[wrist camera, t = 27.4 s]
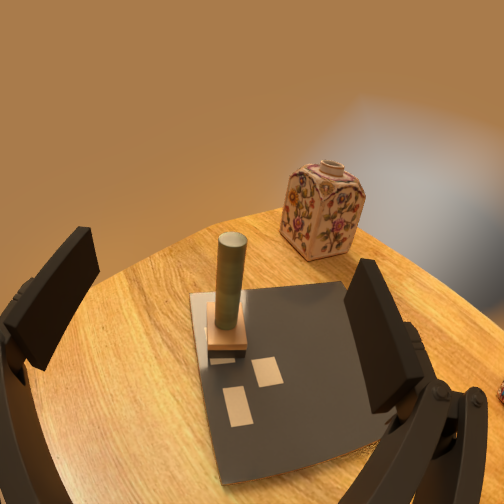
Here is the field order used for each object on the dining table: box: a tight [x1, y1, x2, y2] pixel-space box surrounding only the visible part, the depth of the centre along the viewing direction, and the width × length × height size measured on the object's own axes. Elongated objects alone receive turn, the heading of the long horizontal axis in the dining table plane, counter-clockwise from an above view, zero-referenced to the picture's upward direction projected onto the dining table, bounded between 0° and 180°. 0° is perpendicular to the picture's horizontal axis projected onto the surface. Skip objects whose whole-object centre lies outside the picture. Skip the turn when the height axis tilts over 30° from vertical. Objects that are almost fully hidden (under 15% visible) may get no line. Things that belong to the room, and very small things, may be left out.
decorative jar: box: [279, 160, 366, 261], centre depth 56 cm, size 12×12×18 cm
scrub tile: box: [189, 281, 397, 486], centre depth 35 cm, size 28×26×1 cm
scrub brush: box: [207, 232, 247, 359], centre depth 32 cm, size 7×5×15 cm, turn 7°
